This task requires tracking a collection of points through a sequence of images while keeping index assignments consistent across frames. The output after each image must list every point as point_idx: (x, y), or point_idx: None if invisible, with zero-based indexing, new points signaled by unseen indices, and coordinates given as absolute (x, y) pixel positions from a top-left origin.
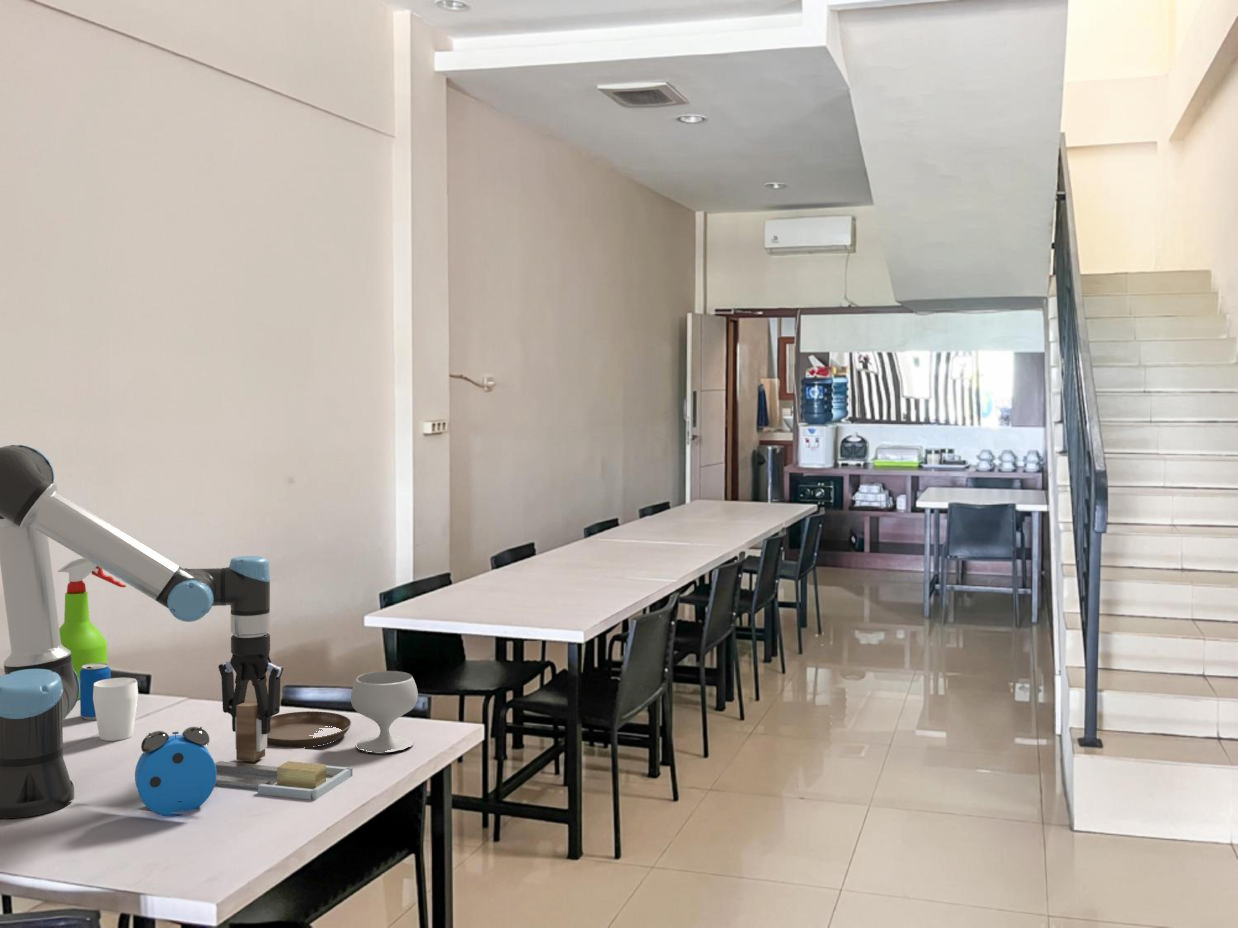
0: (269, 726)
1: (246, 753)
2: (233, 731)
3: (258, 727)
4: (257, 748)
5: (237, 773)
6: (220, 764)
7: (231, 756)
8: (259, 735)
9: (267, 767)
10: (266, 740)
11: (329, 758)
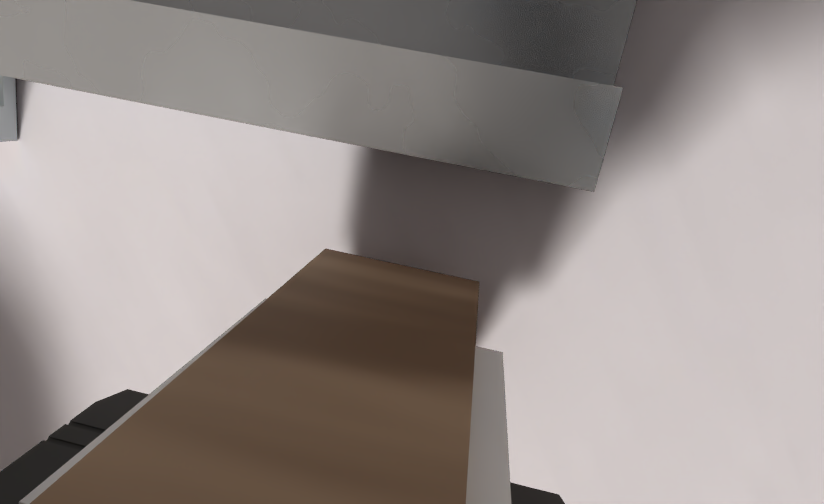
0: None
1: (377, 279)
2: (553, 493)
3: None
4: None
5: (364, 10)
6: (547, 93)
7: (604, 486)
8: (188, 364)
9: (129, 61)
10: None
11: (12, 450)
